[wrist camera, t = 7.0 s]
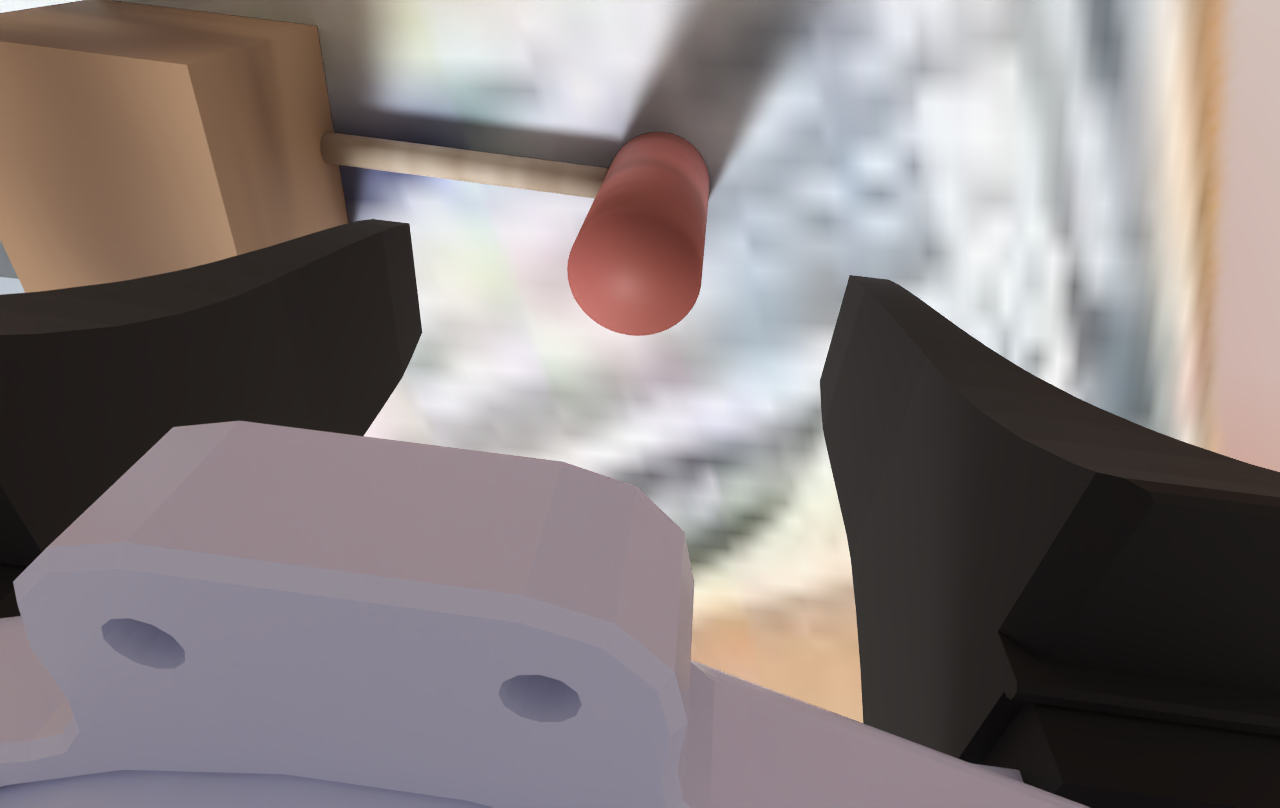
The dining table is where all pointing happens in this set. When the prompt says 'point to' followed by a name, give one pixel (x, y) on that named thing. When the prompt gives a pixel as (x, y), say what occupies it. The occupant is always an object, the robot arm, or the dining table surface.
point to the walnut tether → (272, 160)
